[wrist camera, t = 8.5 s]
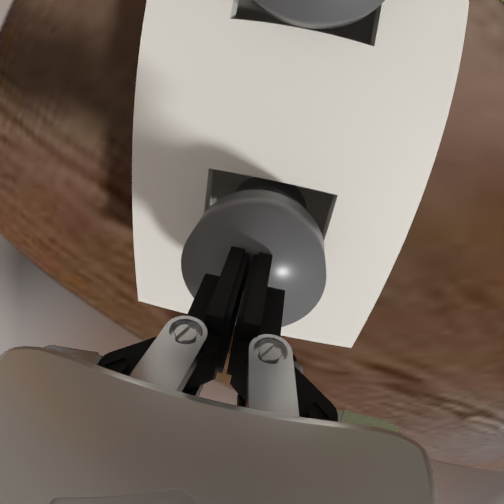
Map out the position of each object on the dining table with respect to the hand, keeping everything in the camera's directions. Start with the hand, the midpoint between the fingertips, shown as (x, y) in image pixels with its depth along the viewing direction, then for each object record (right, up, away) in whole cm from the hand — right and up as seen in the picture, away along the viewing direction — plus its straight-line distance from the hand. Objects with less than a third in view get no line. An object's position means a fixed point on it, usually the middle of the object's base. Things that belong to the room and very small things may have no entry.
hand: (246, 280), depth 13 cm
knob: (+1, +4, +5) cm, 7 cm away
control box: (+3, +10, +4) cm, 11 cm away
